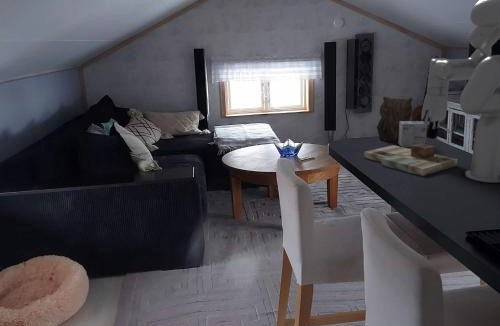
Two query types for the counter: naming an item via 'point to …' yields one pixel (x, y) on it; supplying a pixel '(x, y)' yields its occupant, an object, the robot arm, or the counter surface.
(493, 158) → the robot arm
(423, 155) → the walnut block
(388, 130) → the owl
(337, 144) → the counter surface
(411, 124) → the light bulb box
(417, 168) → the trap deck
